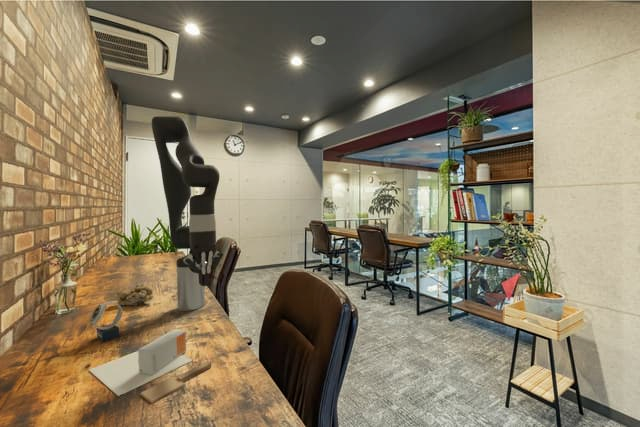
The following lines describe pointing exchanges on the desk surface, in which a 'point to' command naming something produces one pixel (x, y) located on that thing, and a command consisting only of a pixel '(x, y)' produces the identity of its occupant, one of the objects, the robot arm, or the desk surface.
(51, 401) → the desk surface
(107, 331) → the watch
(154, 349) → the skincare box
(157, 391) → the wooden turner
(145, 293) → the mineral formation
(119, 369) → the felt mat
